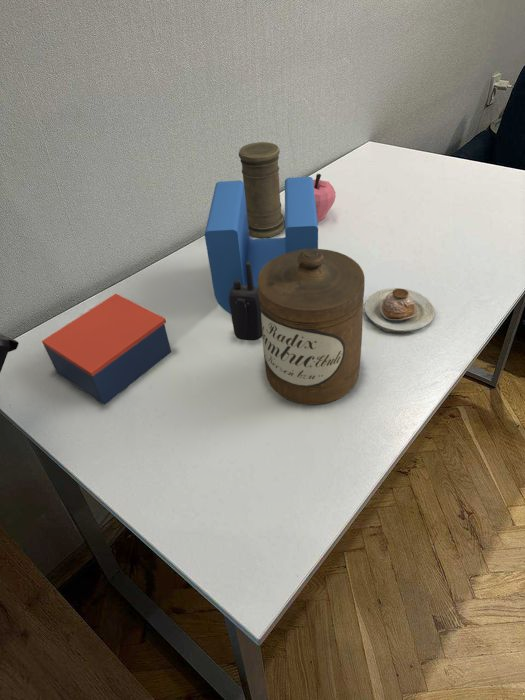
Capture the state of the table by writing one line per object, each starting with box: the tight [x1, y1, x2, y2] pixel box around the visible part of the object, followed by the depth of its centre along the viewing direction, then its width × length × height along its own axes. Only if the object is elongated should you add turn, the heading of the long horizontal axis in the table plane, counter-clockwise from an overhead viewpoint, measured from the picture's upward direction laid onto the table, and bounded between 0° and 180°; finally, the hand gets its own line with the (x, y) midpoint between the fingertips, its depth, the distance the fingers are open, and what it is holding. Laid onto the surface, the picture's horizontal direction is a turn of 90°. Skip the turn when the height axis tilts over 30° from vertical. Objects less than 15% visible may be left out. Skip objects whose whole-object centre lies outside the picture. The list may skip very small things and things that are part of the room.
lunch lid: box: [41, 293, 167, 376], centre depth 81 cm, size 15×13×1 cm
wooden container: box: [258, 248, 366, 405], centre depth 73 cm, size 15×15×22 cm
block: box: [204, 176, 319, 315], centre depth 92 cm, size 18×18×18 cm
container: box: [238, 141, 285, 239], centre depth 109 cm, size 9×9×18 cm
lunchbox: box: [43, 324, 172, 406], centre depth 83 cm, size 15×13×6 cm
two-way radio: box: [229, 262, 263, 342], centre depth 83 cm, size 6×4×15 cm
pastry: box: [364, 287, 435, 334], centre depth 88 cm, size 12×12×5 cm
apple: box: [313, 173, 337, 222], centre depth 114 cm, size 10×9×10 cm
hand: (16, 344), depth 69 cm, fingers closed
